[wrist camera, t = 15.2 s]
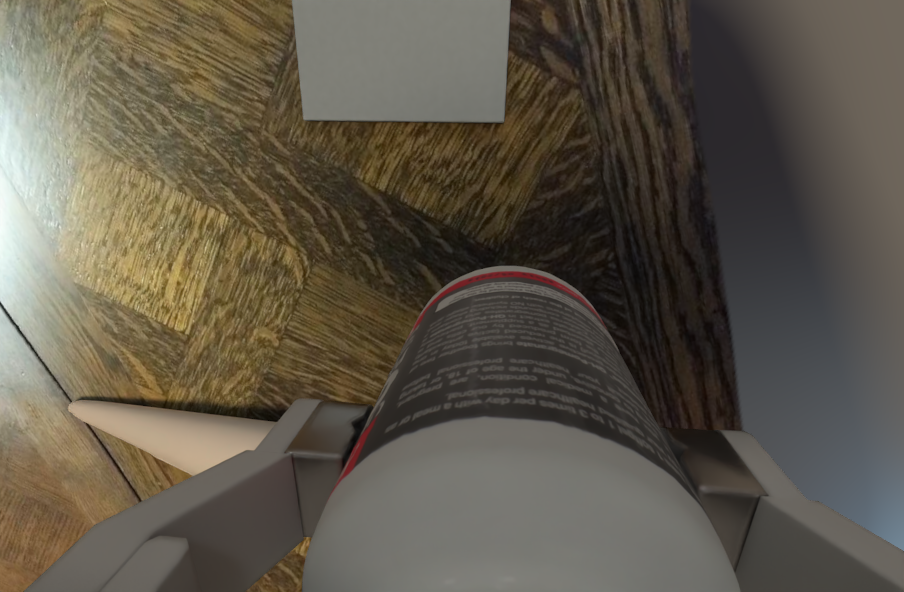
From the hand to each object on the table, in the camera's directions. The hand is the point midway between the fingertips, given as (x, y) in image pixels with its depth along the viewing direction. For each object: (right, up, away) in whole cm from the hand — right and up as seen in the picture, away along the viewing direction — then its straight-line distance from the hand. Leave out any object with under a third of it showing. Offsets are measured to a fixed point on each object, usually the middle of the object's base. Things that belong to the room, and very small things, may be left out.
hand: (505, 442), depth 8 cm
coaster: (-4, +18, +13) cm, 22 cm away
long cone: (-20, -6, +24) cm, 31 cm away
